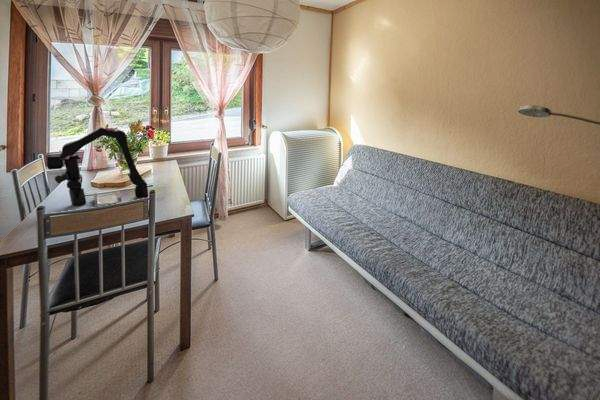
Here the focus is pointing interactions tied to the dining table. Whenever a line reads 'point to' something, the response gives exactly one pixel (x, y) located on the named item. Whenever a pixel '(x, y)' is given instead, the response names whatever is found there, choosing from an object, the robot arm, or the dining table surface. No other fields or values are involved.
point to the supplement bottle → (77, 201)
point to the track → (107, 199)
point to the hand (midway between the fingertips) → (77, 195)
